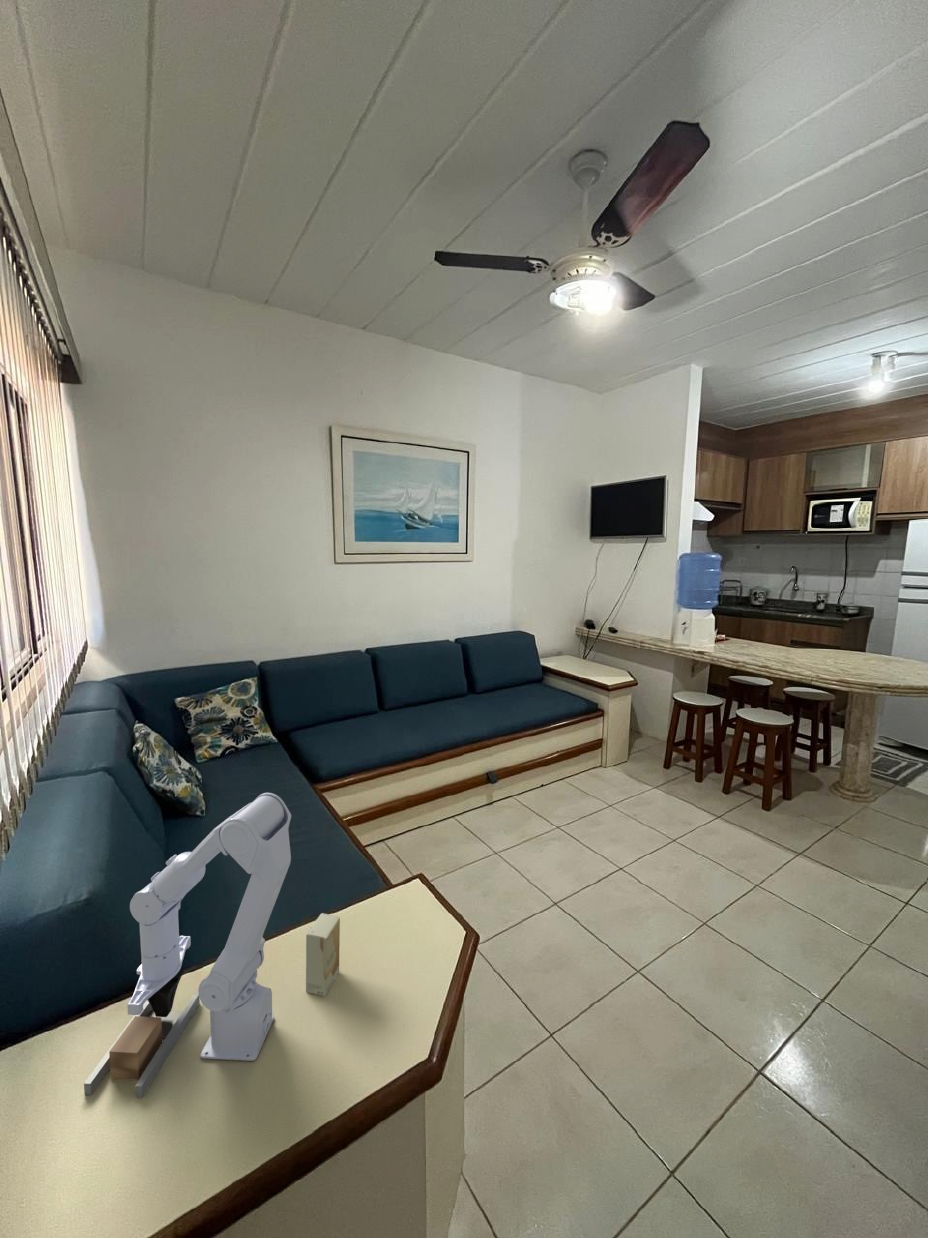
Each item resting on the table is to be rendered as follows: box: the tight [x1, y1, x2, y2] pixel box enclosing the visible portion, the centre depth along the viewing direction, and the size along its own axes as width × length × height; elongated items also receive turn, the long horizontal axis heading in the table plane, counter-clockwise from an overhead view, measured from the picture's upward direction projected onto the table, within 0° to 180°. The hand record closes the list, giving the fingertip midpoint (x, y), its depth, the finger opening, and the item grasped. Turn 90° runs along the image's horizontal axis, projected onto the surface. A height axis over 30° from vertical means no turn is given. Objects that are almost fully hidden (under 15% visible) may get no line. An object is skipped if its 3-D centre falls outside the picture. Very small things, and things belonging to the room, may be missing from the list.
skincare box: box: [305, 912, 341, 997], centre depth 96 cm, size 6×4×12 cm
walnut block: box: [109, 1016, 163, 1081], centre depth 80 cm, size 4×6×5 cm
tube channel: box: [83, 993, 201, 1098], centre depth 83 cm, size 9×16×2 cm, turn 179°
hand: (163, 1013), depth 87 cm, fingers closed
